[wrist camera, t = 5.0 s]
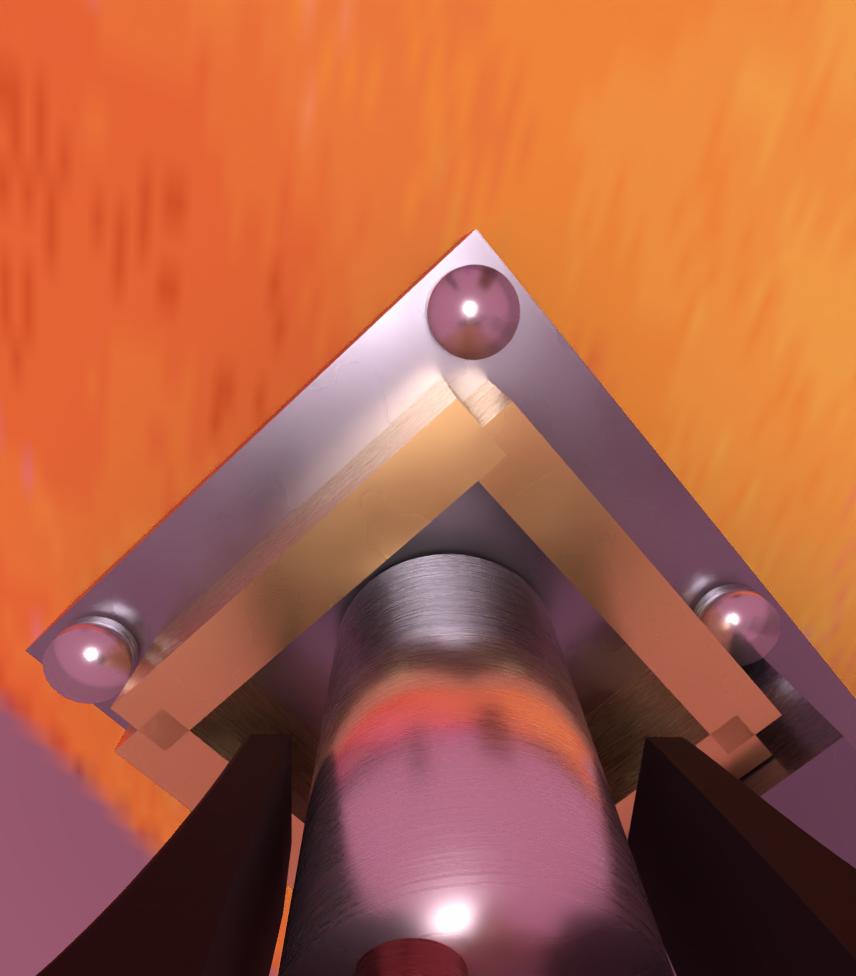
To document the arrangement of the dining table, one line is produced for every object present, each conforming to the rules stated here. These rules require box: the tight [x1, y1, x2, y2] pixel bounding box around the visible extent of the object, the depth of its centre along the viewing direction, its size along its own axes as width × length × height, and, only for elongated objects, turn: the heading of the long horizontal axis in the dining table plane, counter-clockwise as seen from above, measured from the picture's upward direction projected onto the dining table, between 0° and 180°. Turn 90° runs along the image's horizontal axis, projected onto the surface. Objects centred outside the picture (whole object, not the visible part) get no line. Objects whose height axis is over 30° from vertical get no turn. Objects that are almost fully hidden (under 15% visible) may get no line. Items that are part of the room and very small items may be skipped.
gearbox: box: [26, 229, 856, 976], centre depth 14 cm, size 16×12×5 cm
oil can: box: [278, 554, 674, 976], centre depth 10 cm, size 4×4×9 cm
